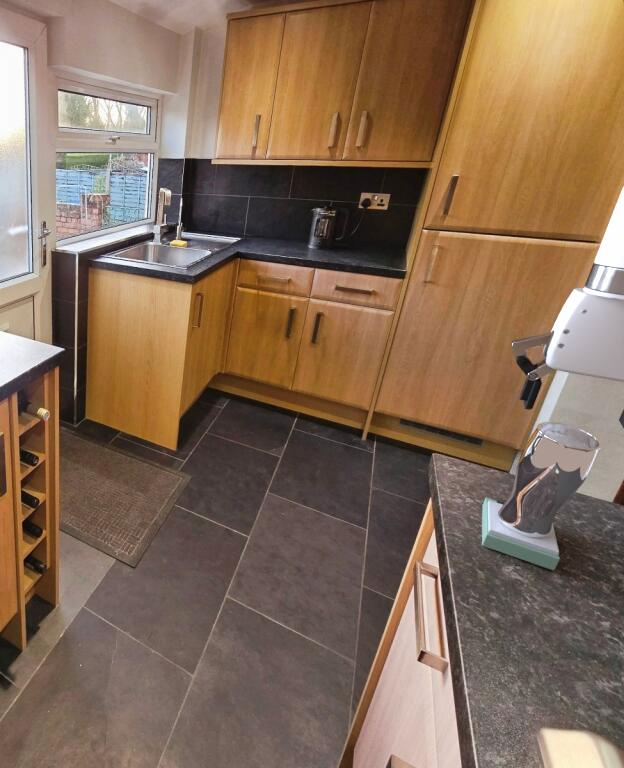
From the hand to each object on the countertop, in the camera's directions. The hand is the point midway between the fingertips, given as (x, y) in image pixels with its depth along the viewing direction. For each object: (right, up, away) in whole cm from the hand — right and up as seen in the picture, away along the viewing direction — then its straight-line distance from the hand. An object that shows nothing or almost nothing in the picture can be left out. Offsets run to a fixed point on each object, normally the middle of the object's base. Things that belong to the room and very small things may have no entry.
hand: (574, 415), depth 64 cm
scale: (-1, -18, +8) cm, 20 cm away
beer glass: (-1, -16, +7) cm, 17 cm away
